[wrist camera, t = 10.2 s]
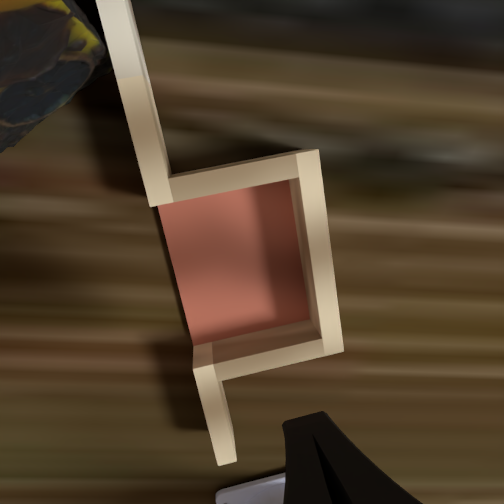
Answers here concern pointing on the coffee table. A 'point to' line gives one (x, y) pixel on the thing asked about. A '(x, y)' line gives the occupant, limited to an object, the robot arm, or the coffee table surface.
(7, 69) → the candle
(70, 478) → the coffee table surface
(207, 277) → the trap channel
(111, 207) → the coffee table surface
